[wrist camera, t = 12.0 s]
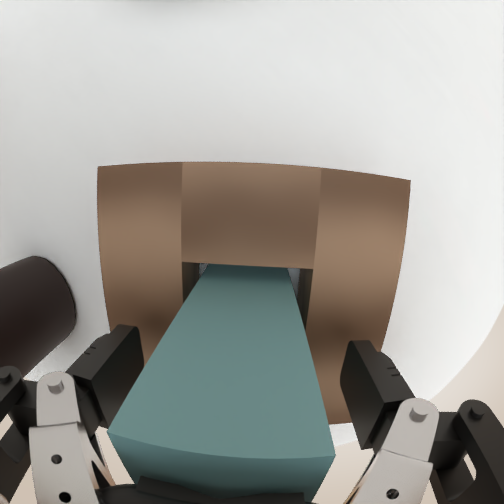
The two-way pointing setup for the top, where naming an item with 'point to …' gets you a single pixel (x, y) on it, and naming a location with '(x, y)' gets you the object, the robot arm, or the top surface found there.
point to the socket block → (255, 246)
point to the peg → (230, 393)
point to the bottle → (32, 312)
